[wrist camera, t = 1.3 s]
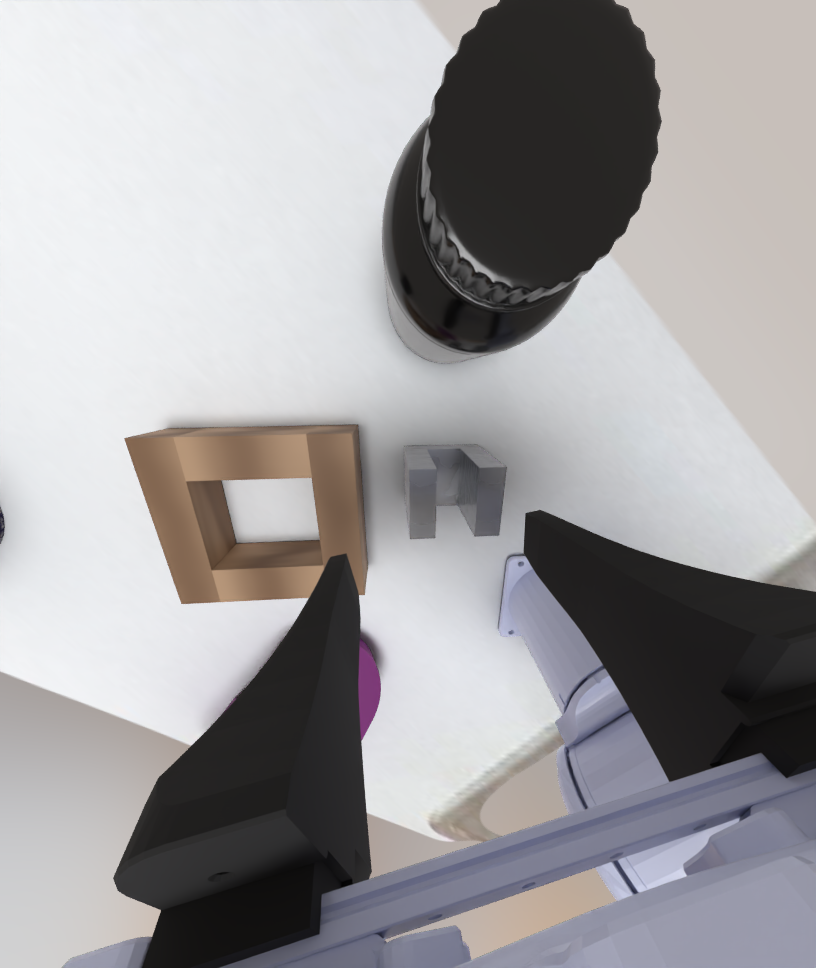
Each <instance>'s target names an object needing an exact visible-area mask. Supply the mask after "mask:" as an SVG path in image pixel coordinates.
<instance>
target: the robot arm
mask: <svg viewBox="0 0 816 968" xmlns="http://www.w3.org/2000/svg"><path fill="white" fill-rule="evenodd" d="M524 554H525V556H513V557H510V558H509V559H508V560H507V564H506V572H505V581H504V589H503V597H502V605H501V613H500V621H499V633H500V635H501V636H504V637H507V636H522V637H523V639H524V641H525V643H526V645H527V647H528V649H529V651H530V653H531V655H532V657H533V659H534V661H535V663H536V665H537V667H538V668H539V670H540V672H541V674H542V676H543V678H544V680H545V682H546V684H547V686H548V688H549V690H550V692H551V694H552V696H553V698H554V700H555V702H556V704H557V706H558V707H559V709H560V711H561V713H562V716H561V717H560V718H559V719H558V720H556V722H555V724H556V726H557V728H558V730H559V732H560V734H561V736H562V738H563V740H564V742H565V744H564V745H562V746H561V747H560V748H559V749H558V751H557V768H558V781H559V786H560V790H561V794H562V797H563V800H564V803H565V806H566V809H567V811H568V814H569V815H566V816H563V817H560V818H557V819H554V820H551V821H548V822H545V823H542V824H538V825H535V826H532V827H529V828H526V829H523V830H520V831H517V832H514V833H511V834H507V835H504V836H501V837H498V838H495V839H492V840H489V841H486V842H483V843H480V844H477V845H474V846H470V847H467V848H464V849H461V850H458V851H455V852H452V853H449V854H445V855H442V856H439V857H436V858H433V859H430V860H427V861H424V862H421V863H418V864H414V865H411V866H408V867H405V868H402V869H399V870H396V871H393V872H390V873H387V874H384V875H380V876H378V877H374V878H371V879H369V877H370V874H371V872H372V870H371V859H370V849H369V837H368V825H367V813H366V801H365V788H364V775H363V761H362V746H361V730H360V712H359V689H358V678H359V649H360V605H359V593H358V589H357V586H356V582H355V579H354V576H353V573H352V569H351V566H350V563H349V560H348V556H347V553H345V554H341V555H336V556H332V557H330V558H329V560H328V562H327V564H326V566H325V568H324V570H323V572H322V574H321V576H320V578H319V580H318V582H317V584H316V586H315V588H314V590H313V592H312V593H311V595H310V597H309V599H308V601H307V603H306V604H305V606H304V608H303V609H302V611H301V613H300V614H299V616H298V618H297V619H296V621H295V622H294V624H293V626H292V627H291V629H290V630H289V632H288V633H287V635H286V636H285V638H284V639H283V641H282V642H281V644H280V645H279V646H278V648H277V649H276V650H275V652H274V653H273V655H272V656H271V657H270V659H269V660H268V661H267V662H266V664H265V665H264V666H263V668H262V669H261V670H260V671H259V673H258V674H257V675H256V676H255V678H254V679H253V680H252V681H251V682H250V684H249V685H248V686H247V687H246V688H245V690H244V691H243V692H242V693H241V694H240V695H239V696H238V698H237V699H236V700H235V701H234V702H233V703H232V704H231V705H230V706H229V708H228V709H227V710H226V711H225V712H224V713H223V714H222V715H221V716H220V717H219V718H218V719H217V720H216V722H215V723H214V724H213V725H212V726H211V727H210V728H209V729H208V730H207V731H206V732H205V733H204V734H203V735H202V736H201V737H200V738H199V739H198V740H197V741H196V742H195V743H194V744H193V745H192V746H191V747H190V748H189V749H188V750H187V751H186V752H185V753H184V754H183V755H182V756H181V757H180V758H179V759H178V760H177V761H176V762H175V763H174V764H173V765H172V766H171V767H169V768H168V769H167V770H166V771H165V772H164V773H163V774H162V775H161V776H160V777H159V778H158V780H157V782H156V784H155V786H154V788H153V790H152V792H151V794H150V796H149V798H148V800H147V802H146V804H145V806H144V809H143V811H142V813H141V816H140V818H139V820H138V823H137V825H136V827H135V830H134V832H133V834H132V836H131V839H130V841H129V843H128V845H127V848H126V850H125V852H124V854H123V857H122V859H121V861H120V864H119V866H118V868H117V871H116V873H115V875H114V878H113V879H114V882H115V884H116V887H117V889H118V891H119V892H121V893H122V894H124V895H126V896H128V897H130V898H132V899H135V900H137V901H140V902H143V903H145V904H147V905H150V906H152V907H155V908H157V909H160V910H161V913H160V916H159V919H158V922H157V925H156V928H155V931H154V933H153V937H141V938H135V939H130V940H126V941H123V942H120V943H117V944H114V945H111V946H107V947H104V948H101V949H98V950H95V951H92V952H89V953H86V954H82V955H79V956H76V957H73V958H71V959H70V960H69V961H68V962H66V963H65V964H64V965H63V967H62V968H816V592H813V591H807V590H801V589H795V588H789V587H783V586H777V585H771V584H765V583H760V582H755V581H751V580H746V579H741V578H736V577H731V576H727V575H723V574H718V573H714V572H710V571H706V570H702V569H698V568H694V567H691V566H687V565H683V564H679V563H676V562H673V561H669V560H666V559H663V558H659V557H656V556H653V555H650V554H647V553H644V552H641V551H638V550H635V549H632V548H630V547H627V546H624V545H622V544H619V543H617V542H614V541H611V540H609V539H606V538H604V537H602V536H599V535H597V534H594V533H592V532H590V531H587V530H585V529H583V528H581V527H578V526H576V525H574V524H572V523H569V522H567V521H565V520H563V519H560V518H558V517H556V516H554V515H551V514H549V513H546V512H544V511H541V510H538V511H534V512H529V513H526V517H525V536H524ZM520 561H522V562H521V563H520V564H518V563H519V562H520ZM510 630H511V631H510ZM592 868H596V870H597V872H598V873H599V875H600V876H601V878H602V880H603V881H604V883H605V884H606V886H607V888H608V889H609V890H610V892H611V893H612V895H613V896H614V898H615V899H616V900H617V901H616V902H613V903H610V904H608V905H605V906H602V907H600V908H597V909H595V910H592V911H589V912H587V913H584V914H582V915H580V916H577V917H574V918H572V919H570V920H567V921H565V922H562V923H560V924H557V925H555V926H552V927H550V928H547V929H545V930H543V931H540V932H538V933H535V934H533V935H530V936H528V937H526V938H523V939H521V940H519V941H516V942H514V943H511V944H509V945H506V946H504V947H502V948H499V949H497V950H494V951H492V952H490V953H487V954H485V955H482V956H480V957H478V958H475V959H473V960H471V957H470V951H469V947H468V946H467V944H466V943H464V942H463V941H462V936H461V931H460V930H459V929H458V927H457V926H450V927H445V928H440V929H434V930H429V931H424V932H419V933H414V934H410V935H406V936H402V937H399V938H396V939H393V940H391V941H389V942H386V941H385V939H388V938H391V937H393V936H396V935H399V934H402V933H405V932H408V931H411V930H414V929H417V928H420V927H423V926H426V925H429V924H431V923H434V922H437V921H440V920H443V919H446V918H449V917H452V916H455V915H458V914H461V913H463V912H466V911H469V910H472V909H475V908H478V907H481V906H484V905H487V904H490V903H493V902H496V901H499V900H502V899H505V898H507V897H510V896H513V895H516V894H519V893H522V892H525V891H528V890H531V889H534V888H536V887H540V886H543V885H545V884H548V883H551V882H554V881H557V880H560V879H563V878H566V877H569V876H572V875H575V874H577V873H581V872H583V871H586V870H589V869H592Z"/></svg>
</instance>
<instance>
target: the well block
mask: <svg viewBox="0 0 816 968" xmlns="http://www.w3.org/2000/svg"><path fill="white" fill-rule="evenodd" d="M124 439H125V442H126V445H127V448H128V450H129V453H130V456H131V459H132V462H133V465H134V468H135V471H136V474H137V477H138V479H139V482H140V485H141V488H142V491H143V494H144V497H145V500H146V503H147V505H148V508H149V511H150V514H151V517H152V520H153V523H154V526H155V529H156V531H157V534H158V537H159V540H160V543H161V546H162V549H163V552H164V555H165V558H166V560H167V563H168V566H169V569H170V572H171V575H172V578H173V581H174V584H175V586H176V589H177V592H178V595H179V598H180V601H181V604H191V603H211V602H231V601H251V600H271V599H291V598H309V597H310V595H311V593H312V592H313V590H314V588H315V586H316V584H317V582H318V580H319V578H320V576H321V574H322V572H323V570H324V568H325V566H326V564H327V562H328V560H329V558H330V557H332V556H336V555H341V554H345V553H347V556H348V560H349V563H350V566H351V569H352V573H353V576H354V579H355V582H356V586H357V589H358V593H359V595H365V587H366V578H367V570H368V561H367V547H366V532H365V518H364V503H363V489H362V474H361V460H360V446H359V431H358V425H317V426H268V427H219V428H170V429H163V430H159V431H154V432H150V433H146V434H141V435H137V436H132V437H128V438H124ZM281 478H312V483H313V491H314V498H315V506H316V514H317V521H318V529H319V536H320V540H314V541H289V542H264V543H239V544H236V540H235V536H234V532H233V528H232V524H231V519H230V515H229V511H228V507H227V503H226V499H225V495H224V491H223V487H222V483H221V480H247V479H281Z"/></svg>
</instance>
